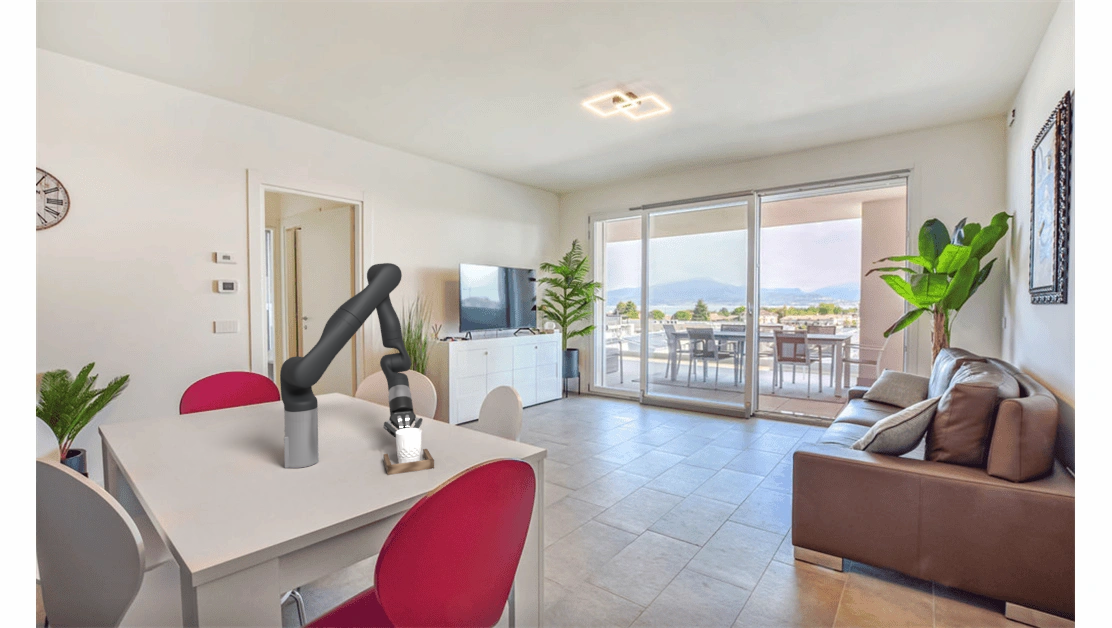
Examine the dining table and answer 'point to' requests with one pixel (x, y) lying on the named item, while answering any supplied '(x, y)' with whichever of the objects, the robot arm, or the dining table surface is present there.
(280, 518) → the dining table surface
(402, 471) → the wooden bracket
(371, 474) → the dining table surface
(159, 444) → the dining table surface
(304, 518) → the dining table surface
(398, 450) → the white cup
